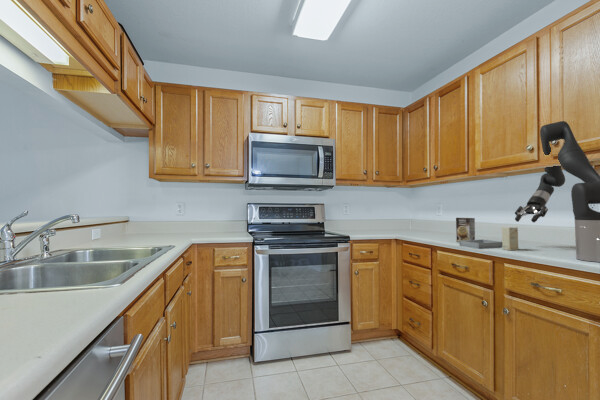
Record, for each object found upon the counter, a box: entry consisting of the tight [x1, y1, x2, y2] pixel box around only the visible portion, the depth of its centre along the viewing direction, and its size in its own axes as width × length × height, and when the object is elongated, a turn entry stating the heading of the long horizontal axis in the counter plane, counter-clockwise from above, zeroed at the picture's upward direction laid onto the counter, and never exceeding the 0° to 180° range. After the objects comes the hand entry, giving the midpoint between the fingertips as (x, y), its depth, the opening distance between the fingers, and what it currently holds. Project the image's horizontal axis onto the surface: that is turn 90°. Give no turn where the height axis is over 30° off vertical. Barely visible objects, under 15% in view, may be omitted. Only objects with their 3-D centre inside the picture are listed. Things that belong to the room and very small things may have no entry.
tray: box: [459, 239, 503, 250], centre depth 164 cm, size 13×18×3 cm
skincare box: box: [501, 226, 519, 251], centre depth 150 cm, size 6×4×12 cm
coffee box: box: [455, 217, 476, 243], centre depth 183 cm, size 9×6×16 cm
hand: (524, 221), depth 153 cm, fingers open, 8 cm apart
